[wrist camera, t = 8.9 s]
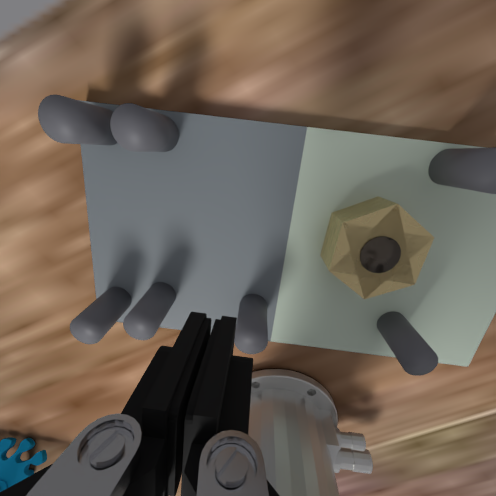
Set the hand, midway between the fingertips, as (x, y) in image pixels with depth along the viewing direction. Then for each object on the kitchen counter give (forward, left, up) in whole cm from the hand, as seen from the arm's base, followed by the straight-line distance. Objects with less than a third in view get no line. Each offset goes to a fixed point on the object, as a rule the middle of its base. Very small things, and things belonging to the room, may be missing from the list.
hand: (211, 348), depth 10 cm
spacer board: (-5, 0, -13) cm, 14 cm away
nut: (-10, -1, -12) cm, 15 cm away
